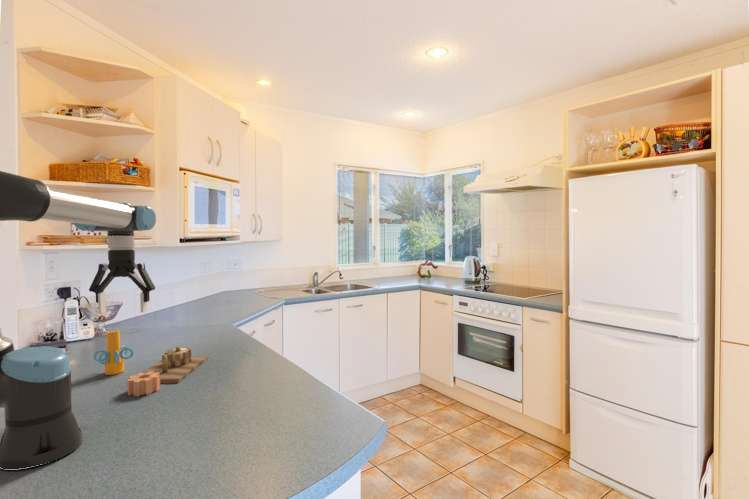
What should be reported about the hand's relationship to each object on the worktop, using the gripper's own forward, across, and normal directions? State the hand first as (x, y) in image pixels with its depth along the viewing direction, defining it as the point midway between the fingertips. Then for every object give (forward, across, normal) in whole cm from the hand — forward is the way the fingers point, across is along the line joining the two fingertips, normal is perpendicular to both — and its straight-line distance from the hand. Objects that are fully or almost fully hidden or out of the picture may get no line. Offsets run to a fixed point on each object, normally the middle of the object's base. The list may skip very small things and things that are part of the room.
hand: (123, 312), depth 133 cm
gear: (+24, -11, +9) cm, 27 cm away
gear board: (+23, -11, -9) cm, 28 cm away
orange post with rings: (+24, +9, -9) cm, 27 cm away
